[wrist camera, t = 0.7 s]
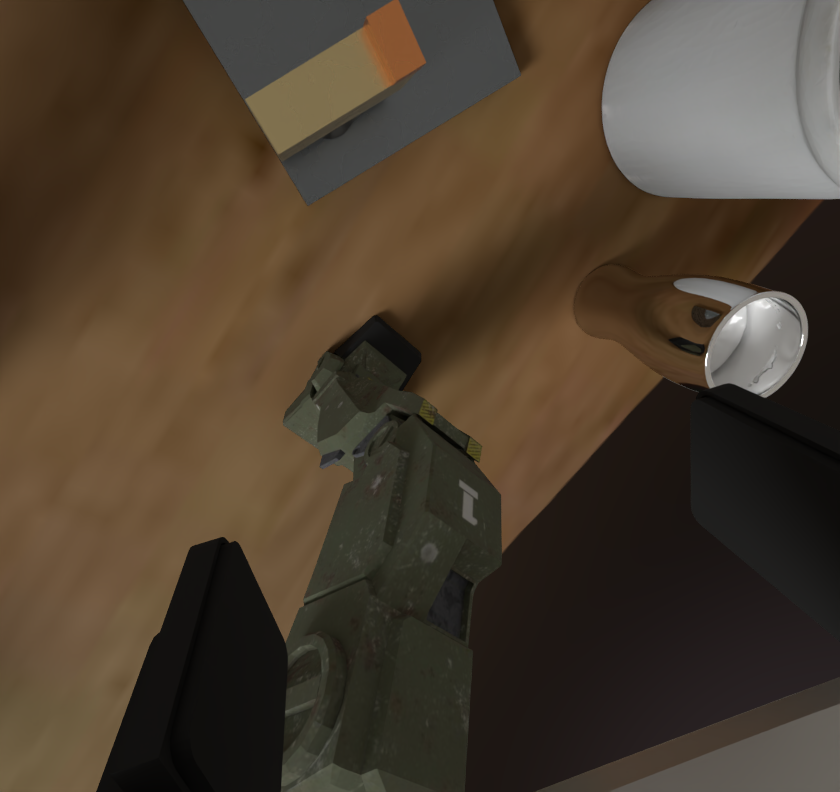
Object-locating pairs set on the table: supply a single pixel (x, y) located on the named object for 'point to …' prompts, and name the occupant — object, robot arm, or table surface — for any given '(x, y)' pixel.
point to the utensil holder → (728, 99)
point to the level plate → (392, 117)
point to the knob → (338, 82)
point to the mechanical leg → (387, 582)
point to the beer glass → (696, 326)
